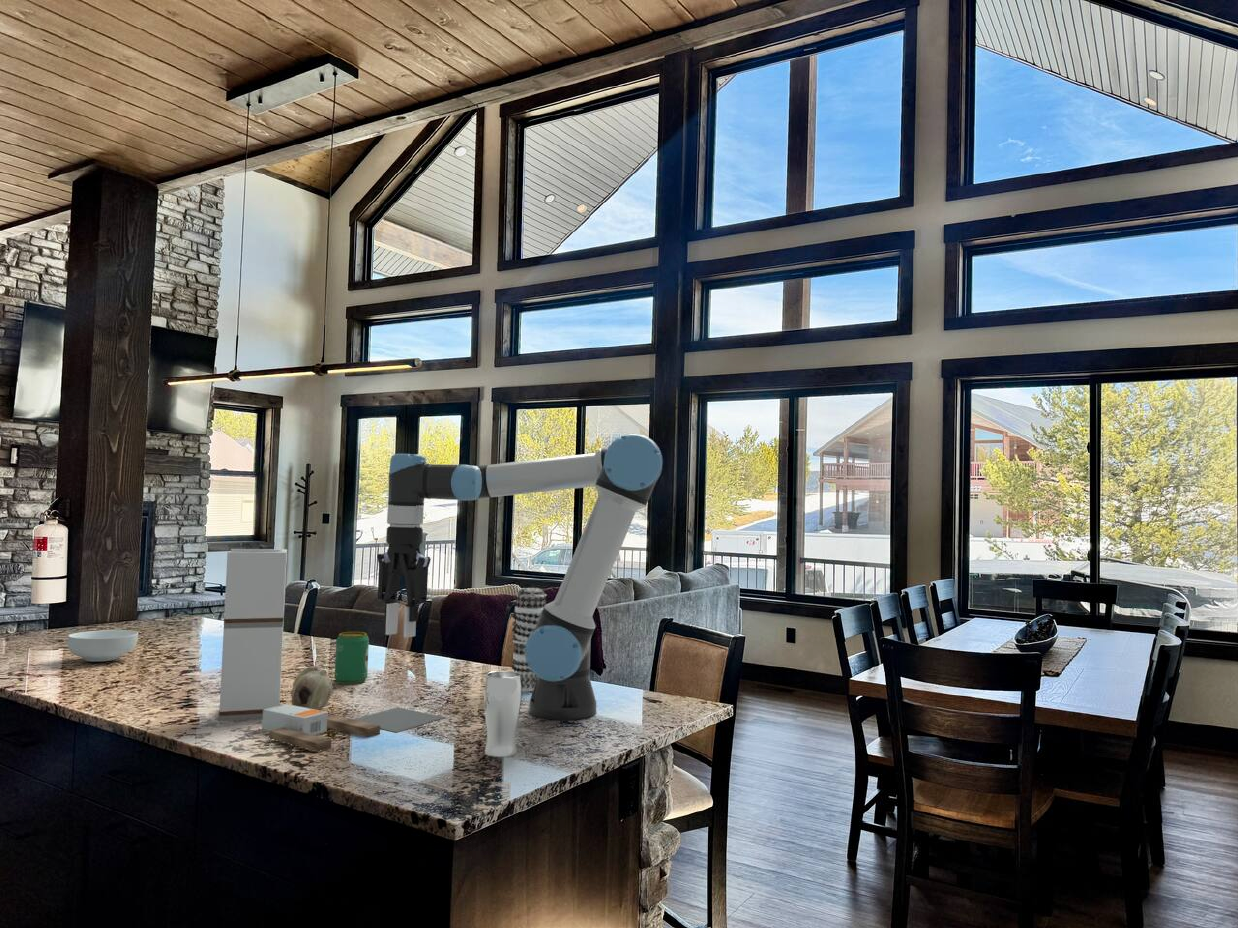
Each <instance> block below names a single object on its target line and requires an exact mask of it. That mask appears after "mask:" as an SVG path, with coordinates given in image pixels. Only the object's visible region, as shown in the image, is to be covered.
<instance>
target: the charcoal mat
mask: <svg viewBox="0 0 1238 928" xmlns="http://www.w3.org/2000/svg"><path fill="white" fill-rule="evenodd" d="M443 718H445V719H446V717H445V716H439V715H435V714H432V713H431V714H430V713H426V712H421V711H418V710H417V711H416V710H413V709H408V708H403V707H398V706H397V707H395V708H394V707H393V708H390V709H387V710H383V711H380V712H379V711H378V712H376V713H375V712H374V713H372V714H369V715H365V716H362V717H357V718H353V719H354V720H358V721H362V722H367V723H371V724H375V725H380V731H381V730H382V731H387V732H390V733H396V734H398V733H400V732H404V731H407V730H412V729H414V728H417V727H421V726H424V724H425V725H427V723H428V724H431V723H434V722H433V721H435V722H437V720H438V721H441V720H440V719H442V720H444V719H443Z"/></svg>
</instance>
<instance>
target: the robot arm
mask: <svg viewBox="0 0 1238 928" xmlns="http://www.w3.org/2000/svg"><path fill="white" fill-rule="evenodd" d="M426 460H427V458H426V456H425V455H424V454H416V453H394V454H393V455H392V456H391V457H390V459H389V462H390V463H389V471H388V475H387V476H388V497H387V498H388V499H387V512H386V513H387V516H386V524H388V525H389V526H387V527H386V535H385V536H386V539H385V542H386V544H388V548H387V551H386V552H384V553H378V554H377V555H376V556H377V562H378V576H377V577H378V580H377V599H378V600H380V601H383V603H384V619H385V633H384V634H385V635H387V636H390V635H397V634H398V625H399V624H398V623H399V600H398V599H397V598H398V597H397V596H398V592H399V588H400V582H401V577H402V575H403V576H404V583H405V590H406V591H405V592H406V598H407V599H406V600H407V603H406V604H405V606H404V614H403V615H404V618H403V638H405V639H408V638H413V637H416V630H417V629H416V628H417V622H418V619H419V609H420V608H419V607H420V605H423V604H426V603H427V601H428V600H427V599H428V583H429V582H428V579H429V578H428V577H429V566H430V563H431V560H432V558H431V557H430V556H425V555H423V554H422V552H421V548H420V545H422V543H423V537H424V536H423V532H424V529H423V527H422V526H421V525H423V524H424V509H425V508H424V507H425V499H427V500H431V499H434V500H448V501H450V500H452V501H453V500H454V501H461V502H462V501H475V500H476V501H477V500H481V499H487V498H489V499H490V498H496V497H505V496H515V495H517V496H518V495H523V494H534V493H544V492H546V493H547V492H552V491H553V492H554V491H555V492H556V491H564V490H571V489H583V488H592V487H595V489H596V493H597V499H596V501H595V503H594V505H593V508H592V510H591V513H590V515H589V517H588V519H587V523H586V524H585V527H584V530H583V532H582V534H581V536H580V539H579V541H578V544H577V545H576V548H575V551H574V554H573V556H572V558H571V560H570V563H569V566H568V568H567V570H566V572H565V575H564V577H563V579H562V582H561V583H560V587H559V589H558V592H557V593H556V595H555V598H554V600H552V601H551V602H549V603H545V606H544V608H543V610H542V611H541V614H540V618H539V620H538V623H537V625H536V627H535V630H534V632H532V633H531V635H530V636H529V638H528V640H527V642H526V647H525V658H526V662H527V664H528V666H529V668H530V669H531V671H532V672H533V673H534V674H535V675H537V676H538V679H537V682H536V684H535V687H534V690H533V691H532V694H531V697H530V699H529V704H528V705H529V707H528V711H529V712H528V713H530V715H532V716H533V717H538V718H541V719H544V720H545V719H547V720H555V721H557V720H558V721H572V720H573V721H574V720H575V721H576V720H582V719H587V718H591V717H593V716H594V715H596V713H597V699H596V698H595V697H596V696H595V693H594V692H595V691H594V689H593V686H592V685H593V684H592V681H591V677H590V672H591V671H590V669H591V668H590V667H591V641H592V640H591V639H592V636H593V634H594V632H595V629H596V623H595V620H594V618H593V616H594V613H595V610H596V608H597V606H598V603H599V600H600V599H601V596H602V593H603V591H604V590H605V589H604V588H605V587H606V583H607V582H608V579H609V578H610V577H609V576H610V574H611V572H612V569H613V568H614V565H615V562H616V560H617V558H618V555H619V553H620V550H621V548H622V546H623V543H624V541H625V539H626V536H627V534H628V531H629V529H630V527H631V524H632V522H633V519H634V517H635V515H636V512H637V511H639V510H641V509H643V508H645V507H647V505H648V502H649V500H650V498H651V494H652V493H653V490H654V487H655V486H656V483H657V481H659V478H660V477H661V476H662V475H661V474H662V471H663V455H662V452H661V449H660V447H659V446H658V444H657V443H656V442H655V441H654V440H653V439H652V438H650V437H647V436H646V435H644V434H643V435H642V434H639V433H628V434H627V433H626V434H624V435H621V436H619V437H617V438H616V439H614V441H612V442H611V444H610V445H609V446H608V447H607V446H604V447H600V448H599V449H598V450H597V451H596V452H593V453H584V454H583V453H582V454H575V455H566V456H555V457H549V458H547V457H546V458H539V459H529V460H522V461H521V460H520V461H511V462H510V461H509V462H503V463H496V464H495V463H493V464H485V465H482V464H481V465H469V464H463V463H462V464H434V463H427V461H426Z"/></svg>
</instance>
